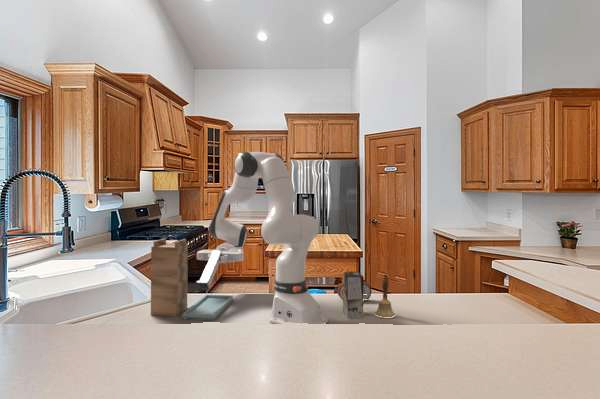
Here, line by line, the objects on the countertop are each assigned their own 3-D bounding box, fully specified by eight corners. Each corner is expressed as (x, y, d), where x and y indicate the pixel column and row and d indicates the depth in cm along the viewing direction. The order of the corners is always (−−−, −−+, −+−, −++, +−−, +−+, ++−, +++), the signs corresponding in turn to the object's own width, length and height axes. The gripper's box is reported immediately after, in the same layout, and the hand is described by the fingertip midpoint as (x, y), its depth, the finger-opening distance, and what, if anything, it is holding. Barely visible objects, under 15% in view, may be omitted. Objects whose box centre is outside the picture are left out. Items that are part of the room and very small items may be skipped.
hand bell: (369, 313, 136) (370, 273, 136) (386, 310, 139) (387, 271, 139) (382, 320, 128) (383, 278, 128) (400, 317, 132) (401, 276, 131)
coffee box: (363, 318, 129) (364, 276, 129) (347, 318, 129) (347, 276, 129) (357, 310, 139) (358, 271, 138) (342, 310, 138) (343, 271, 138)
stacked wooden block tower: (163, 306, 139) (164, 238, 139) (187, 307, 138) (187, 238, 138) (150, 315, 129) (151, 241, 129) (176, 316, 128) (176, 242, 128)
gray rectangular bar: (213, 255, 147) (212, 248, 145) (223, 256, 147) (222, 248, 145) (197, 290, 130) (195, 282, 128) (208, 290, 130) (207, 282, 128)
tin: (370, 299, 153) (370, 281, 153) (371, 301, 150) (372, 282, 150) (337, 299, 153) (337, 280, 152) (338, 301, 150) (338, 282, 149)
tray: (205, 298, 150) (205, 294, 150) (232, 300, 149) (232, 295, 149) (182, 318, 126) (182, 313, 126) (213, 320, 125) (214, 315, 125)
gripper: (203, 245, 157) (191, 250, 143) (246, 247, 155) (238, 252, 142) (202, 259, 157) (190, 265, 144) (246, 260, 156) (238, 267, 142)
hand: (214, 258), depth 143 cm, fingers closed on gray rectangular bar, 3 cm apart
